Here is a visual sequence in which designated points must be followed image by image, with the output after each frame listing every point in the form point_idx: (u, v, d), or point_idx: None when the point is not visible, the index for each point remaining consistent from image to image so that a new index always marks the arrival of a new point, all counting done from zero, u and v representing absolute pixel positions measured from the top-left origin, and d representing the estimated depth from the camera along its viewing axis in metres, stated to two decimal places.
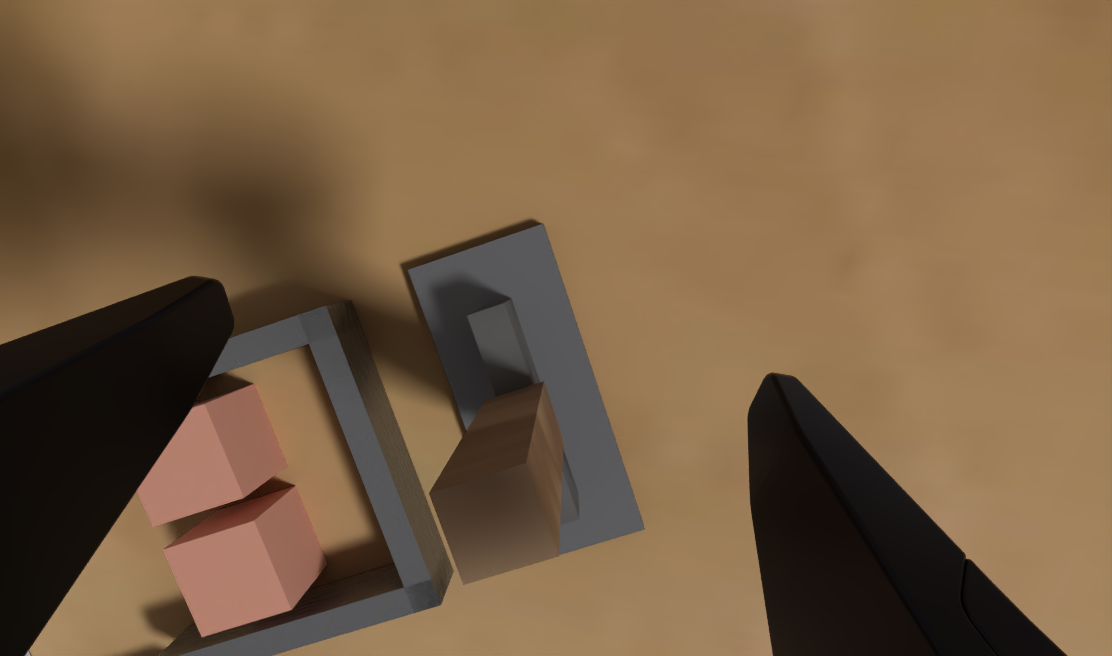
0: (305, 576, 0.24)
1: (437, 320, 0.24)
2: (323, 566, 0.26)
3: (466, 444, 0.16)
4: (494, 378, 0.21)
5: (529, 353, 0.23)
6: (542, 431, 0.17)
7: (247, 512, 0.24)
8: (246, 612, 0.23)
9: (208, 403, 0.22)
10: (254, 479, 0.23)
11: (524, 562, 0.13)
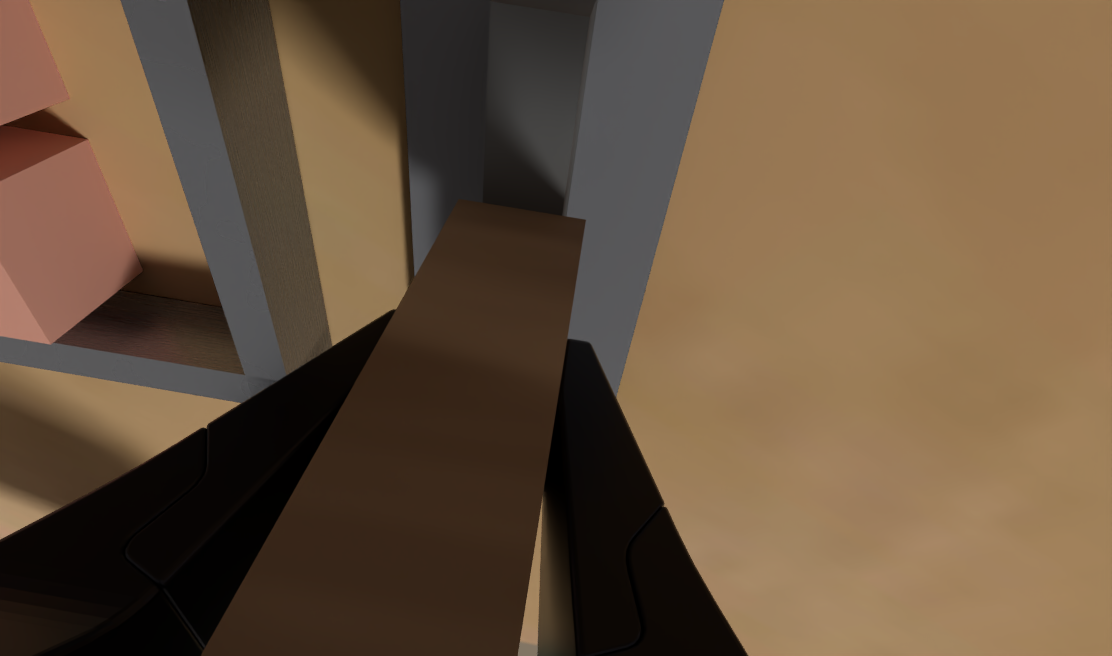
0: (90, 292, 0.15)
1: None
2: (133, 274, 0.16)
3: (365, 416, 0.06)
4: (494, 169, 0.10)
5: (578, 127, 0.12)
6: None
7: None
8: None
9: None
10: None
11: None
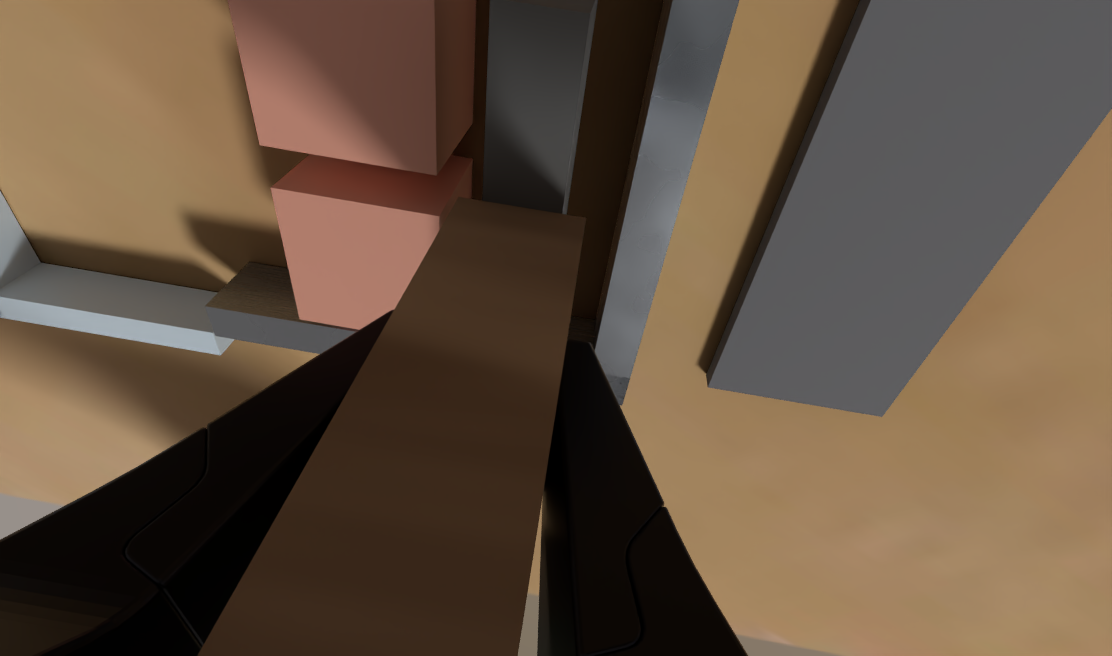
0: None
1: (891, 7, 0.12)
2: None
3: (364, 415, 0.06)
4: (494, 167, 0.10)
5: (578, 125, 0.11)
6: None
7: (408, 180, 0.14)
8: None
9: None
10: (448, 142, 0.13)
11: None
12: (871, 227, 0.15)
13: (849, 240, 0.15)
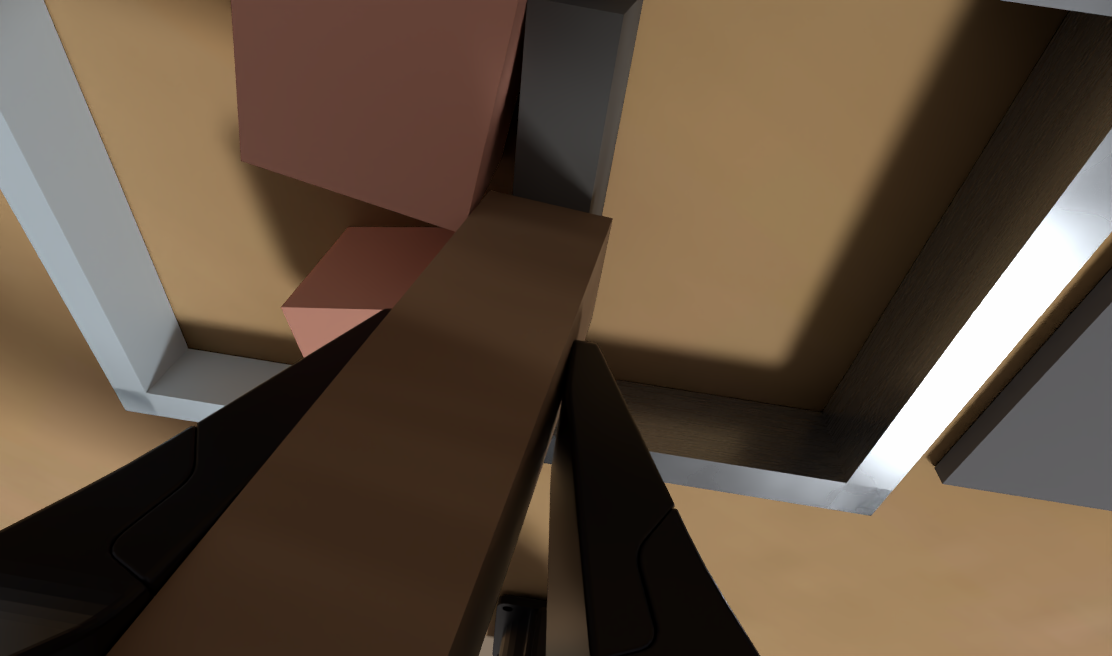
0: None
1: None
2: None
3: (360, 384, 0.06)
4: (524, 163, 0.10)
5: (617, 128, 0.12)
6: (546, 410, 0.07)
7: None
8: None
9: None
10: (480, 193, 0.11)
11: None
12: None
13: None
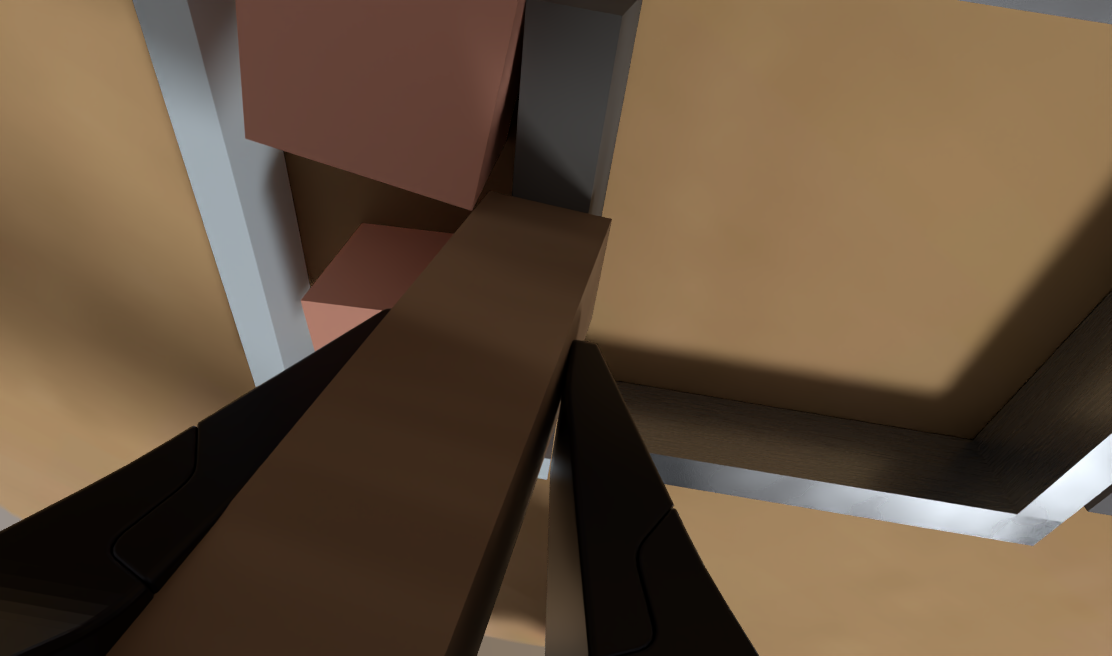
0: None
1: None
2: None
3: (358, 383, 0.07)
4: (524, 163, 0.10)
5: (616, 129, 0.12)
6: (544, 410, 0.07)
7: None
8: None
9: None
10: (487, 169, 0.10)
11: None
12: None
13: None
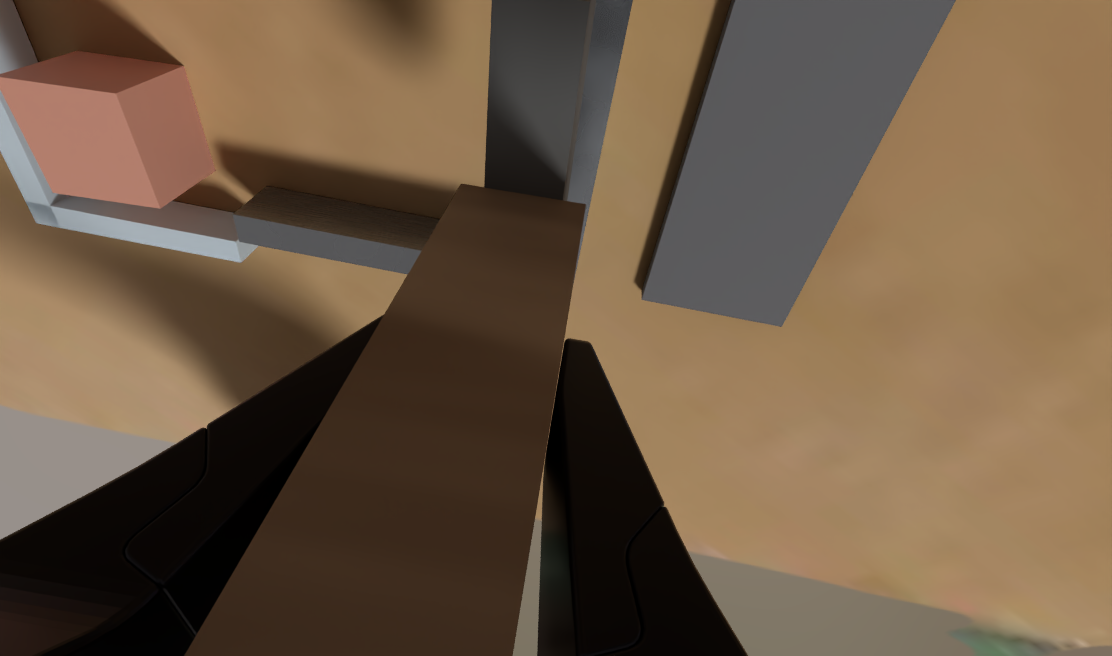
0: (183, 177, 0.21)
1: None
2: (209, 172, 0.22)
3: (371, 385, 0.06)
4: (496, 154, 0.10)
5: (578, 115, 0.12)
6: None
7: (112, 75, 0.19)
8: (106, 189, 0.20)
9: None
10: None
11: None
12: (758, 159, 0.19)
13: (743, 169, 0.19)
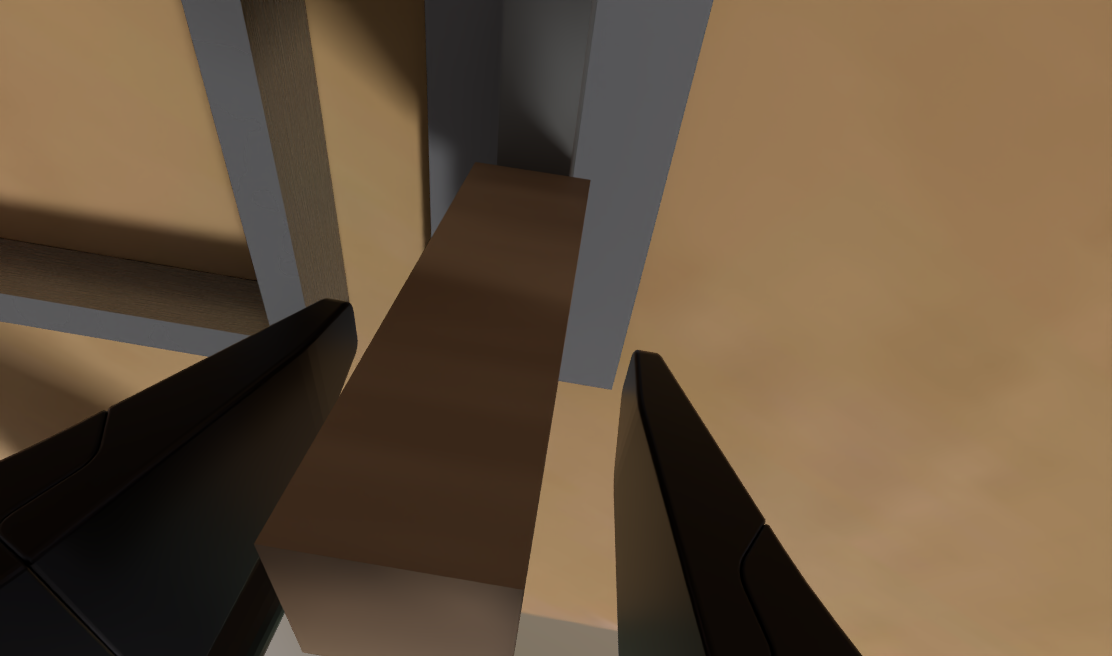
0: None
1: None
2: None
3: (405, 326, 0.07)
4: (507, 133, 0.11)
5: (583, 99, 0.13)
6: (563, 341, 0.08)
7: None
8: None
9: None
10: None
11: None
12: None
13: None
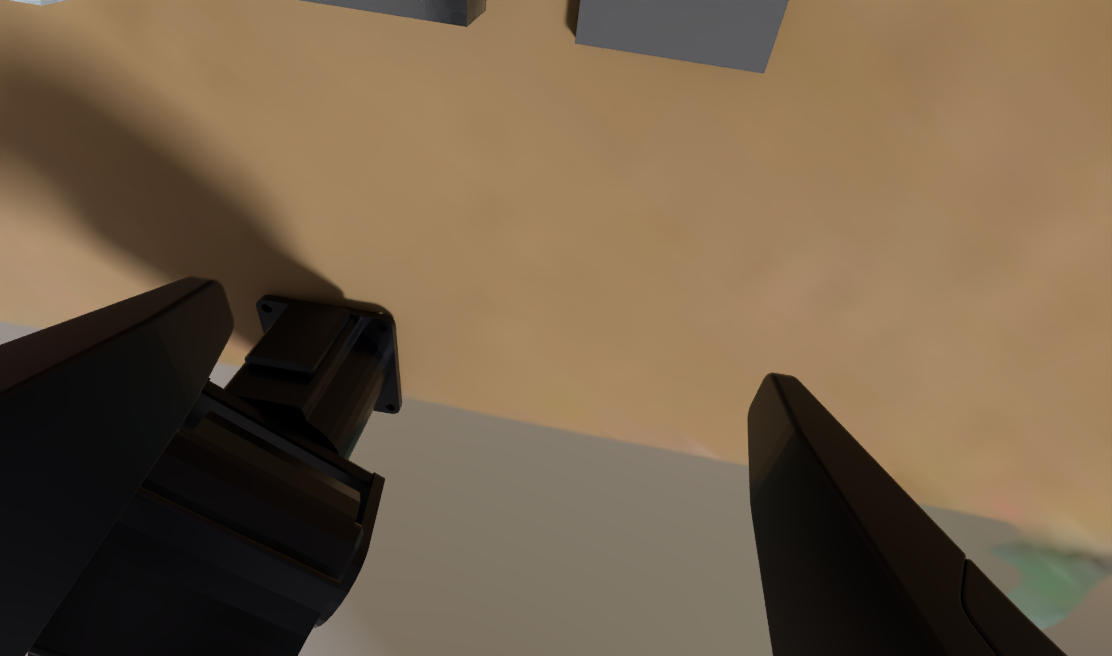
0: None
1: None
2: None
3: None
4: None
5: None
6: None
7: None
8: None
9: None
10: None
11: None
12: None
13: None
